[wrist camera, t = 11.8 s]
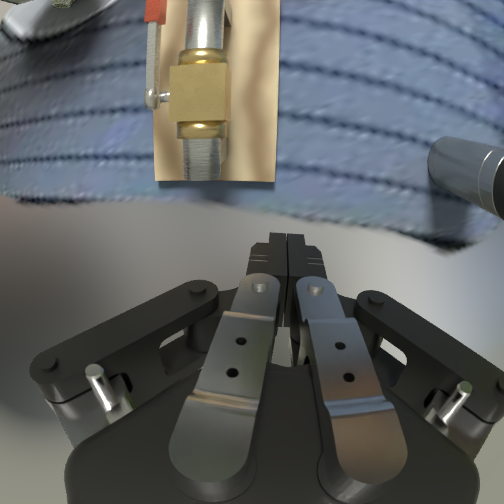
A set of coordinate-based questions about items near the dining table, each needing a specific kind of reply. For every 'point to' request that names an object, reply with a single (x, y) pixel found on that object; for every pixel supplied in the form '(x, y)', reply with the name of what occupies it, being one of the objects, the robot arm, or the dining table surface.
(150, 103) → the valve lever
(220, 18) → the valve body
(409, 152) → the dining table surface
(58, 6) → the ball valve
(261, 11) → the mounting board
